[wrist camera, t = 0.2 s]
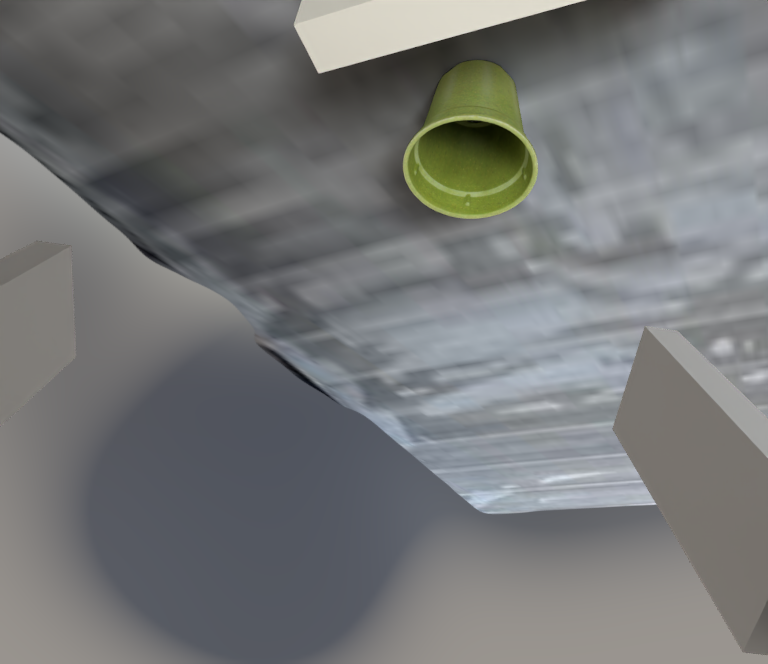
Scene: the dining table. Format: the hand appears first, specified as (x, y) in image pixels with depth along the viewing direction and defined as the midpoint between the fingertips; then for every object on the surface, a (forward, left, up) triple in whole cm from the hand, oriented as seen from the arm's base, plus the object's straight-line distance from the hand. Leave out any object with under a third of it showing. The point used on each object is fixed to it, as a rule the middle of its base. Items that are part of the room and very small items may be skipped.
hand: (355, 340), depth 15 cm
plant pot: (+20, -4, -36) cm, 41 cm away
